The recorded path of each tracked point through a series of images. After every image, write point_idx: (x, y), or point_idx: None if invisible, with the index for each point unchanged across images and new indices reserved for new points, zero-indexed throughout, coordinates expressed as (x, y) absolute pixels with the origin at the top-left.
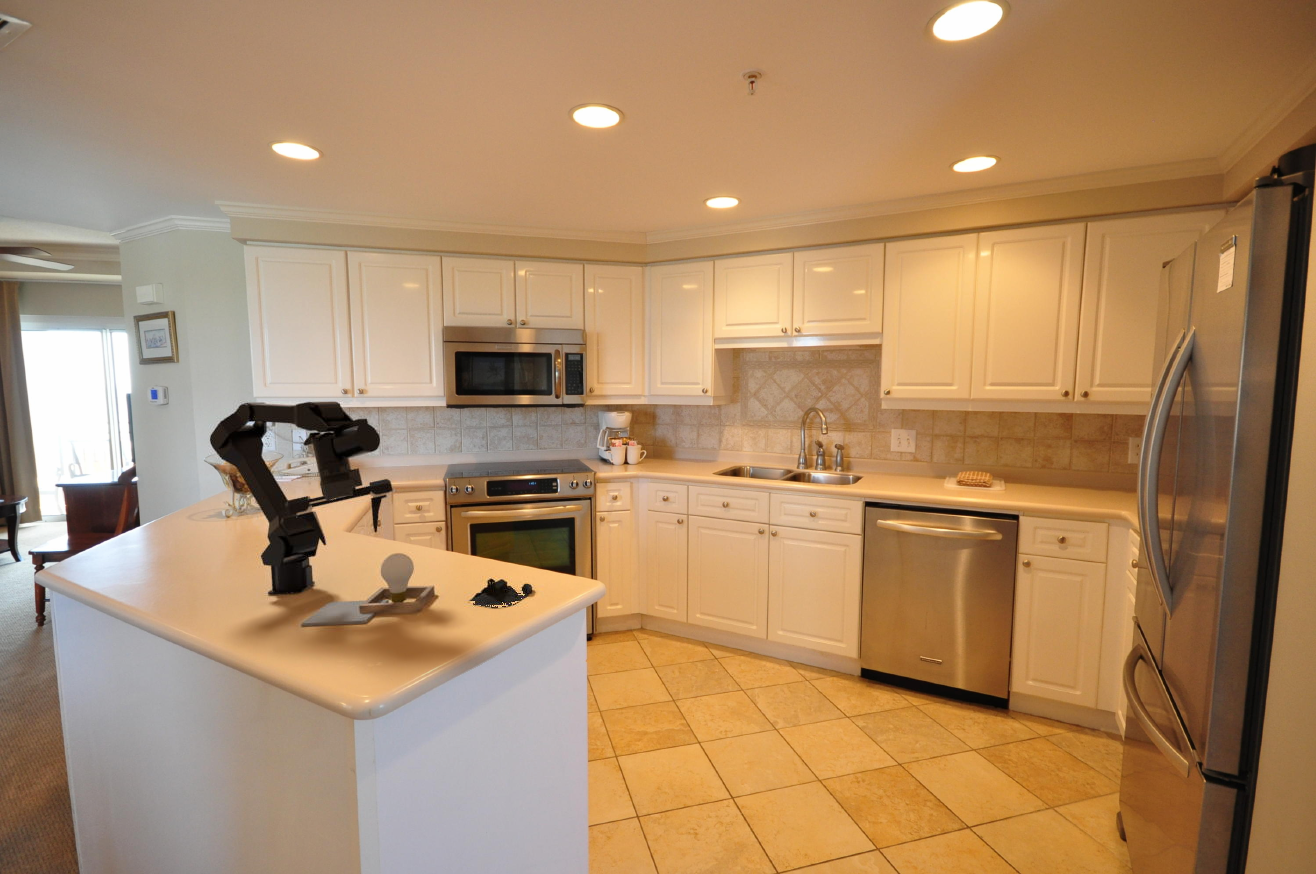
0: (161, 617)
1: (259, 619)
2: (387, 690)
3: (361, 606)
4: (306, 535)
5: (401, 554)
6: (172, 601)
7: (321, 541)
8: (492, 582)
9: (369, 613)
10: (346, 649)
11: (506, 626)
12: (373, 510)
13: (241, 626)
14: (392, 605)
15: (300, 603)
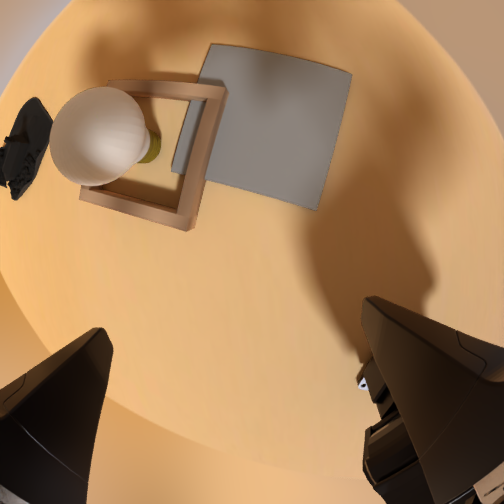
0: None
1: (444, 172)
2: None
3: (220, 87)
4: (412, 448)
5: (54, 127)
6: None
7: (391, 303)
8: (8, 138)
9: (206, 81)
10: None
11: (47, 36)
12: (16, 397)
13: (460, 144)
14: (153, 80)
15: (385, 254)
